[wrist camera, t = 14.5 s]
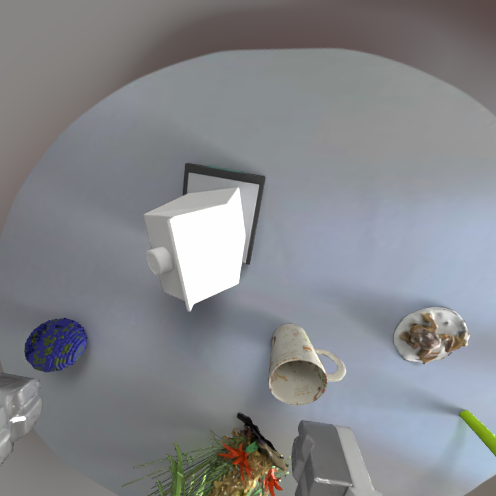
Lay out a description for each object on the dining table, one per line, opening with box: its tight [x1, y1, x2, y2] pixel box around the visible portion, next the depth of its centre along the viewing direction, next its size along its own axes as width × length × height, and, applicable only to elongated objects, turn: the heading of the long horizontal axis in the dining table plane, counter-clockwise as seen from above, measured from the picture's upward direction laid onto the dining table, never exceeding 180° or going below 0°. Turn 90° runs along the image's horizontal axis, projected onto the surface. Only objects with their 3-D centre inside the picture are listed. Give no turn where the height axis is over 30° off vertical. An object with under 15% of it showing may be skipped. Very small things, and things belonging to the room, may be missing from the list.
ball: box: [24, 318, 87, 372], centre depth 44 cm, size 8×8×8 cm
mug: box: [268, 324, 346, 405], centre depth 41 cm, size 8×13×10 cm, turn 84°
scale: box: [183, 163, 266, 265], centre depth 38 cm, size 13×11×3 cm
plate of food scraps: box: [394, 307, 470, 364], centre depth 43 cm, size 12×12×4 cm
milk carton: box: [144, 187, 245, 311], centre depth 27 cm, size 7×7×19 cm
